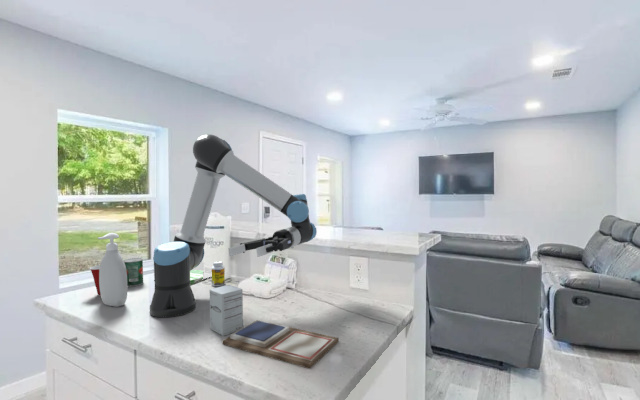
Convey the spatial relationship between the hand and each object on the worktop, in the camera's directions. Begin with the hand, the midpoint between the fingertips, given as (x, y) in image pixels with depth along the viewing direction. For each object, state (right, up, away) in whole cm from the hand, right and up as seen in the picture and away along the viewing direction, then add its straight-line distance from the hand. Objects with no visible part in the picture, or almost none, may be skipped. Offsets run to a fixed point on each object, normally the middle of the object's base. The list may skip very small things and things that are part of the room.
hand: (243, 252), depth 112 cm
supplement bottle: (-20, -21, +40) cm, 50 cm away
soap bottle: (-52, -22, +16) cm, 59 cm away
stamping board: (+14, -23, -16) cm, 31 cm away
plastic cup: (-63, -22, +30) cm, 73 cm away
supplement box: (-3, -23, -7) cm, 24 cm away
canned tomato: (-59, -21, +43) cm, 76 cm away
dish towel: (-38, -21, +50) cm, 66 cm away
